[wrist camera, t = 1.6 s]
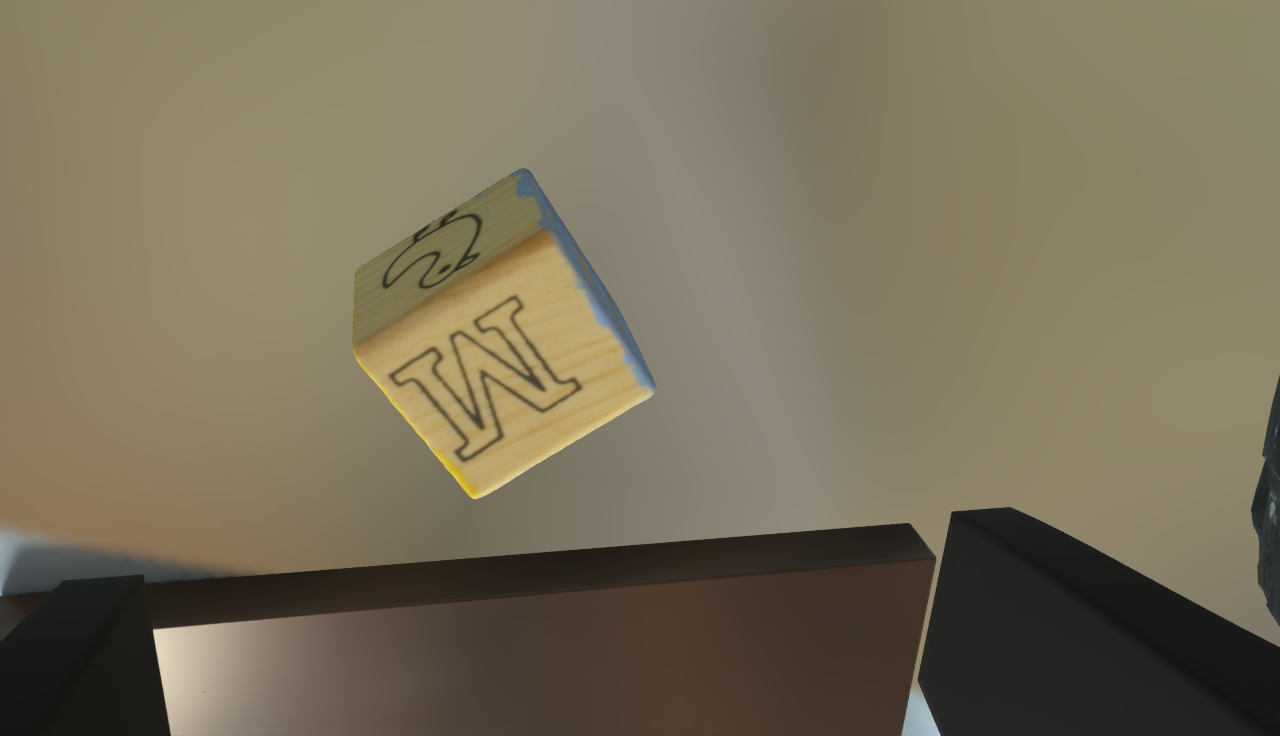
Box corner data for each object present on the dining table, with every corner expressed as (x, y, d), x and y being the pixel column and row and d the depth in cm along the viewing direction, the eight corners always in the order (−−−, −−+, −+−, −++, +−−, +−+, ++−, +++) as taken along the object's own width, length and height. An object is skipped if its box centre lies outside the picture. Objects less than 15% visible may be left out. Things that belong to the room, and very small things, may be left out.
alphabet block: (622, 314, 18) (665, 398, 15) (462, 413, 18) (476, 512, 15) (523, 159, 16) (552, 221, 14) (350, 268, 17) (345, 350, 14)
